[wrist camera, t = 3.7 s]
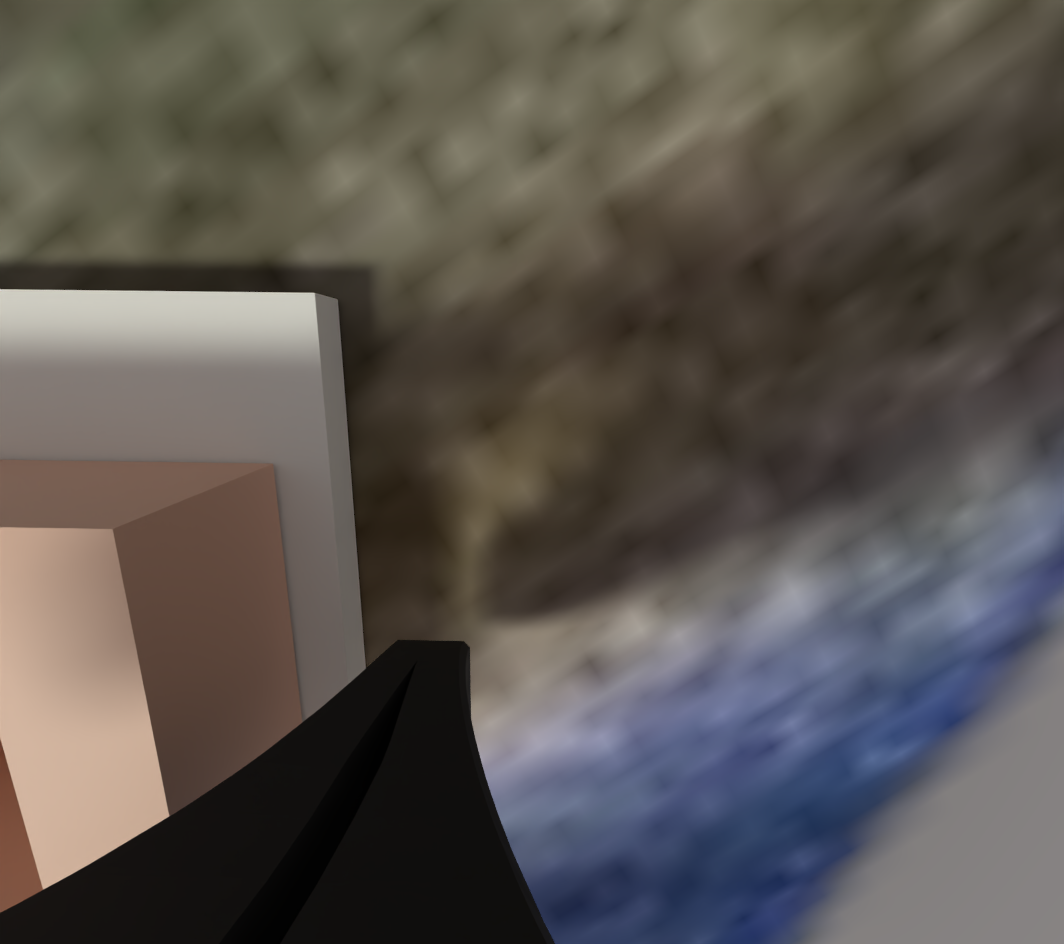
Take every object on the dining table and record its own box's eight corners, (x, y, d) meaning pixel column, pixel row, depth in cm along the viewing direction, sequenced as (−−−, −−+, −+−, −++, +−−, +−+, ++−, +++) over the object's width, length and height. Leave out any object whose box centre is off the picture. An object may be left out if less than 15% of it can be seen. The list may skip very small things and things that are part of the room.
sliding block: (312, 814, 11) (210, 1024, 7) (-44, 807, 11) (-307, 1012, 8) (273, 463, 9) (112, 528, 6) (-155, 457, 9) (-571, 518, 6)
